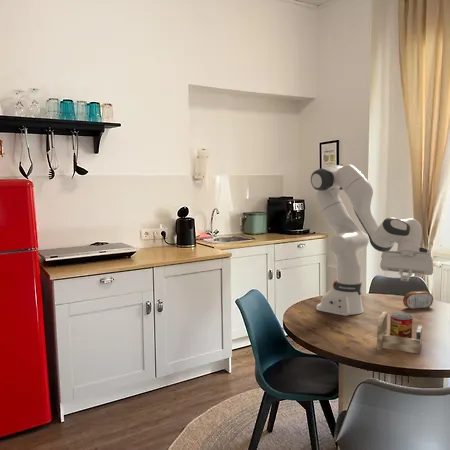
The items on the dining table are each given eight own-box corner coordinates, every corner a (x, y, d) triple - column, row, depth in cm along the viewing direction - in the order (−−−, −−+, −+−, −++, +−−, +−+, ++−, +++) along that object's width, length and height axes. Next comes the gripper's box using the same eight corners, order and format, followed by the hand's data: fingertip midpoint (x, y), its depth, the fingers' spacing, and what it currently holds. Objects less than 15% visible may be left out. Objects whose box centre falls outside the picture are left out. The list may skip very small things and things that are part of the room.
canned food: (386, 342, 173) (386, 312, 172) (405, 341, 174) (406, 312, 172) (395, 350, 165) (396, 319, 164) (415, 349, 166) (416, 318, 165)
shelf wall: (376, 349, 166) (377, 321, 165) (382, 337, 178) (383, 311, 177) (418, 356, 159) (419, 327, 158) (421, 343, 171) (422, 316, 170)
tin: (429, 306, 219) (430, 289, 218) (433, 308, 216) (434, 291, 215) (402, 308, 216) (402, 291, 216) (406, 310, 213) (406, 293, 212)
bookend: (415, 349, 165) (416, 331, 165) (417, 342, 172) (418, 325, 172) (419, 350, 165) (420, 332, 164) (421, 343, 172) (422, 325, 171)
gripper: (381, 246, 187) (376, 273, 180) (434, 250, 177) (431, 279, 170) (382, 254, 191) (378, 281, 184) (434, 259, 182) (431, 287, 174)
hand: (404, 280), depth 177 cm, fingers closed
